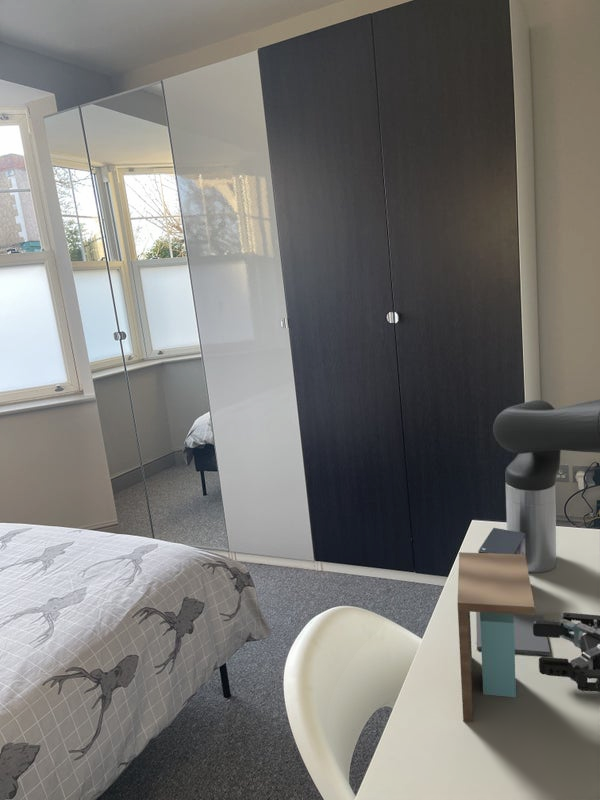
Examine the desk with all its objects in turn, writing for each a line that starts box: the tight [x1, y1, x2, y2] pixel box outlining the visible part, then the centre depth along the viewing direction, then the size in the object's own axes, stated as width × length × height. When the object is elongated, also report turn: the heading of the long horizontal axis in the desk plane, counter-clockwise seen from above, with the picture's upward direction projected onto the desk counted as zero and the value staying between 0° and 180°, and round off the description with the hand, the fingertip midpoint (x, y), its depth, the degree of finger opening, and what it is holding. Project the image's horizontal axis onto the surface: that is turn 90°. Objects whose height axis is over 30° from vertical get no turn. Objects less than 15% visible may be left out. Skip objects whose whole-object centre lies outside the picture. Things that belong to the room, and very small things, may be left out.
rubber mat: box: [475, 612, 551, 656], centre depth 101 cm, size 10×11×1 cm
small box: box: [477, 527, 525, 554], centre depth 112 cm, size 11×6×10 cm, turn 148°
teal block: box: [480, 612, 517, 698], centre depth 88 cm, size 4×4×12 cm
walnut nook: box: [457, 551, 536, 723], centre depth 86 cm, size 14×10×18 cm
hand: (535, 646), depth 86 cm, fingers open, 8 cm apart
